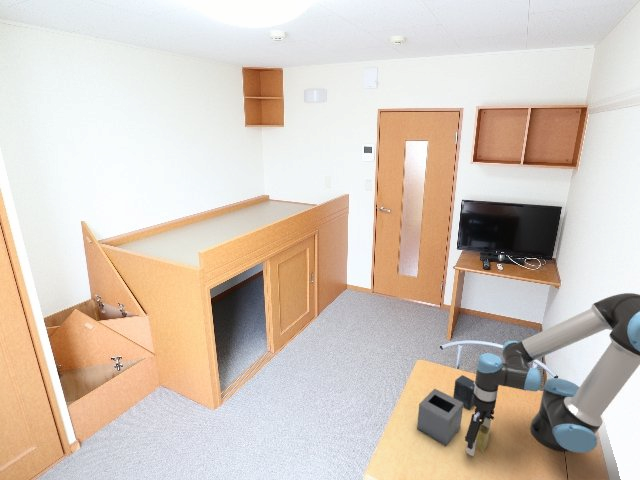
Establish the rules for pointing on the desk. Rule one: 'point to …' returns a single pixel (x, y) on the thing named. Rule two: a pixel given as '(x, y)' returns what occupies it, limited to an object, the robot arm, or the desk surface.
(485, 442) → the yellow rectangular block
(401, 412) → the desk surface
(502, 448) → the desk surface
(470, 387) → the box
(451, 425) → the gray slotted cube
